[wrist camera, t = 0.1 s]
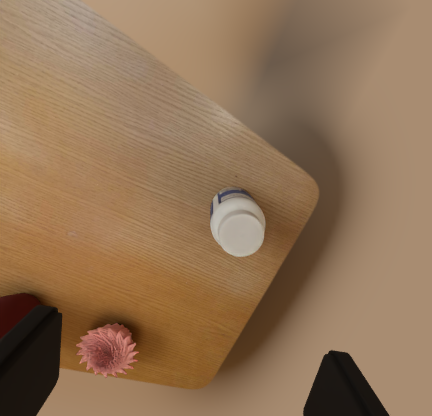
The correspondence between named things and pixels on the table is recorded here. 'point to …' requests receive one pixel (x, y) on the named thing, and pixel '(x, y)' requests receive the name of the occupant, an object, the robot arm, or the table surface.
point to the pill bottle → (237, 222)
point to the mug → (15, 310)
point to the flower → (108, 349)
